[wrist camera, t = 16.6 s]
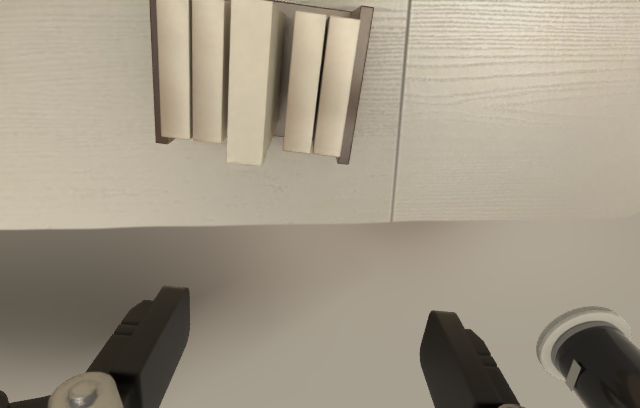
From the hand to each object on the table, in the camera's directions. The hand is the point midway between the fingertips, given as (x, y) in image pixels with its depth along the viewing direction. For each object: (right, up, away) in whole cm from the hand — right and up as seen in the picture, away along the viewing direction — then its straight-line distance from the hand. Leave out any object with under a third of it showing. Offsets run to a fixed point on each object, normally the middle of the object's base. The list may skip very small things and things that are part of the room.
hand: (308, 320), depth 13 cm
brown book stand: (-5, +17, +24) cm, 30 cm away
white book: (-4, +16, +23) cm, 29 cm away
